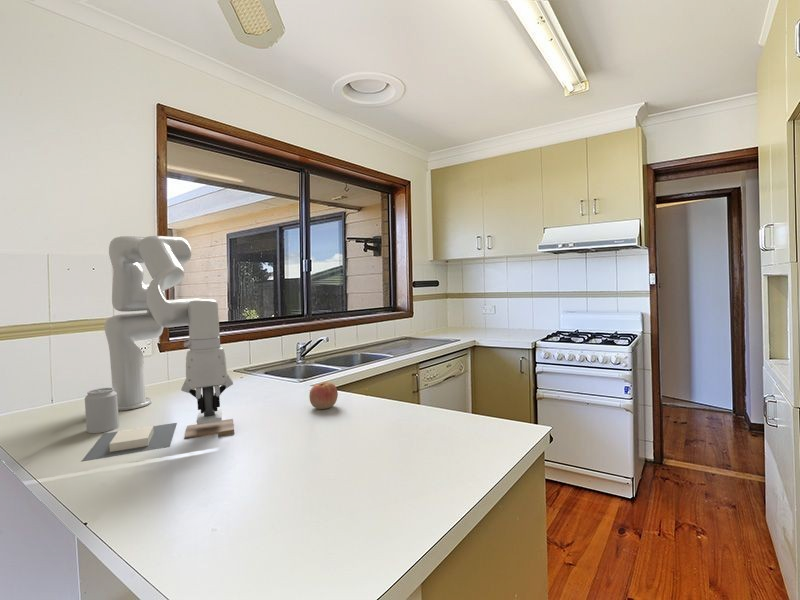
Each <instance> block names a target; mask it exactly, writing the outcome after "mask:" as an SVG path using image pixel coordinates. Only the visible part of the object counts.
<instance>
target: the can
mask: <svg viewBox="0 0 800 600" xmlns="http://www.w3.org/2000/svg"><path fill="white" fill-rule="evenodd" d="M113 390H114V388H112V387H102V388H96V389H92V390H89V391H87V393H86V394H87V395H86V396H85V397H84V406H85V408H84V409H85V410H84V411H85V422H86V424H85V425H86V433H88V434H101V433H102V434H103V433H108V432H110V431H113V430H115V429H117V428H119V427H120V422H119V421H120V420H119V411H118V403H117V393H116V392H115V391H113Z"/></svg>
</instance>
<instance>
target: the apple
mask: <svg viewBox="0 0 800 600" xmlns="http://www.w3.org/2000/svg"><path fill="white" fill-rule="evenodd" d="M338 393H339V392H338V389H337V386H336V385H335V384H334V383H333V382H330V381H325V382H319V383H316V384H314V385H313V386H312V387H311V389H310V390H309V395H308V396H309V402H310V404H311V406H312V407H313V408H315V409H317V410H325V409H330V408H332V407H333V406H335V404H336V403H337V400H338V395H339V394H338Z"/></svg>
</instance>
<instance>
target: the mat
mask: <svg viewBox="0 0 800 600" xmlns="http://www.w3.org/2000/svg"><path fill="white" fill-rule="evenodd" d="M177 425H178V422H173V423H165V424H159V425H152V426H153V428H154V434H153V436H152V438H151V440H150V443H149V445H148V446H144V447H138V448H132V449H126V450H120V451H114V452H110V446H109V444H110V442H111V441H112V439H113V438H114V437H115V435H116V434H117V432H118V431H119V430H117V431H112V432H103V433H102V435H101V436H100V437H99V438H98V439H97V441H96V442H95V443H94V444H93V446H92V447H91V448H90V450H89V451H88V452H87V454H86V455H85V456H84V457H83V458H82V460H81V461H80V462H86V461H88V462H89V461H92V460H99V459H105V458H110V457H115V456H117V457H118V456H122V455H129V454H134V453H135V454H136V453H140V452H146V451H153V450H159V449H165V448H170V447H171V445H172V441H173V437H174V434H175V430H176V427H177Z"/></svg>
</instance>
